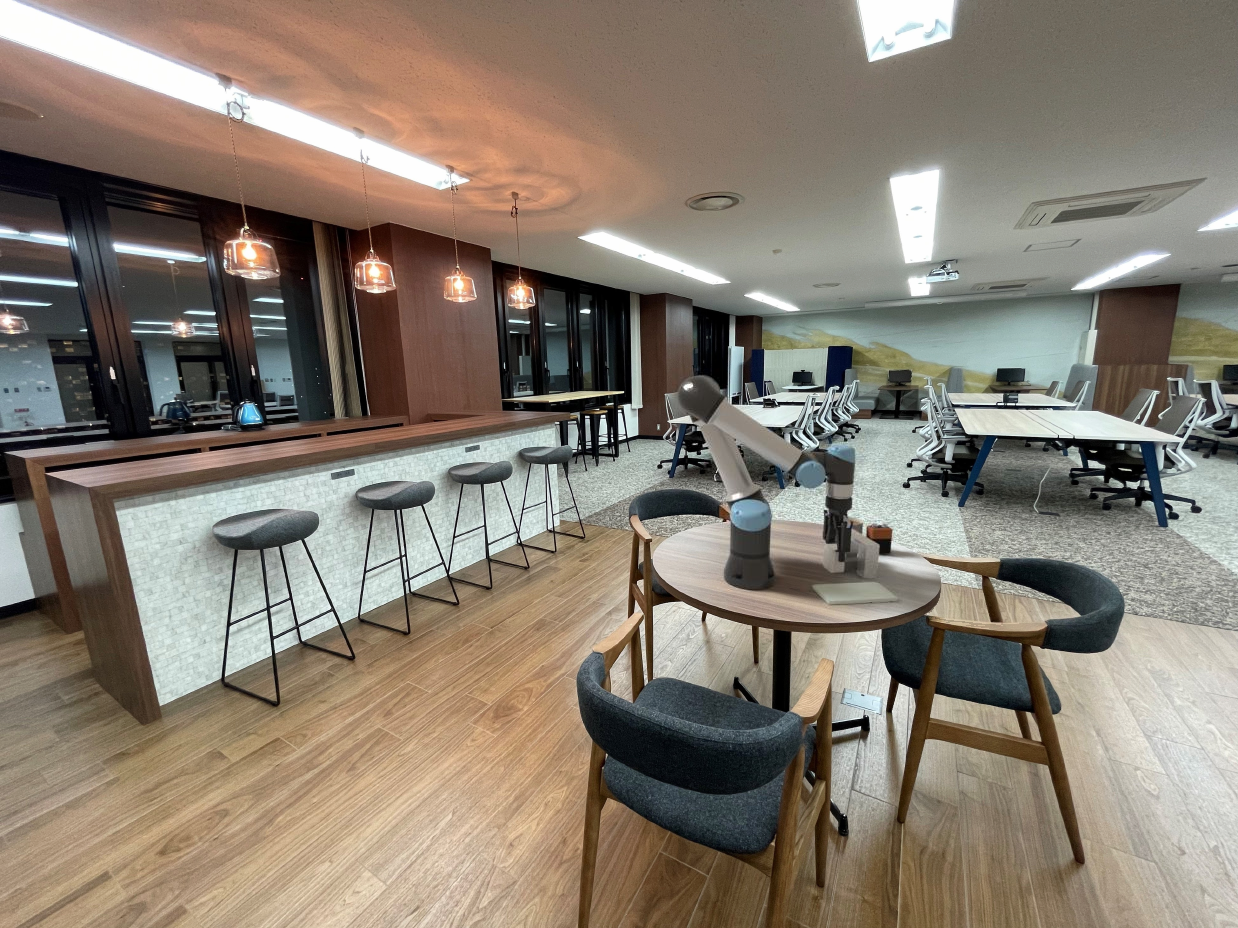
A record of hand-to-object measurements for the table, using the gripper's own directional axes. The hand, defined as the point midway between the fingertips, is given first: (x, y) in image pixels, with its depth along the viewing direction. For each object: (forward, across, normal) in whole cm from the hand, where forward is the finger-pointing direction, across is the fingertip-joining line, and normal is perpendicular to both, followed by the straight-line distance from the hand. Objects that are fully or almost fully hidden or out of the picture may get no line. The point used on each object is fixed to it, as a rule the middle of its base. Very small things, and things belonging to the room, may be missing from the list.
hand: (834, 566), depth 149 cm
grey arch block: (+1, 0, -7) cm, 7 cm away
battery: (+1, +12, -21) cm, 24 cm away
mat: (+1, -17, +3) cm, 17 cm away
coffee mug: (+1, +18, -11) cm, 21 cm away
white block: (+1, 0, -4) cm, 5 cm away
